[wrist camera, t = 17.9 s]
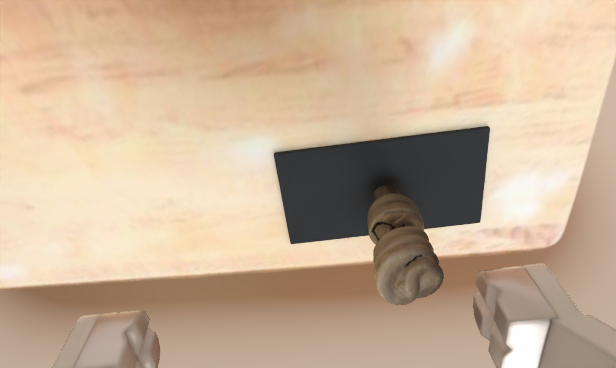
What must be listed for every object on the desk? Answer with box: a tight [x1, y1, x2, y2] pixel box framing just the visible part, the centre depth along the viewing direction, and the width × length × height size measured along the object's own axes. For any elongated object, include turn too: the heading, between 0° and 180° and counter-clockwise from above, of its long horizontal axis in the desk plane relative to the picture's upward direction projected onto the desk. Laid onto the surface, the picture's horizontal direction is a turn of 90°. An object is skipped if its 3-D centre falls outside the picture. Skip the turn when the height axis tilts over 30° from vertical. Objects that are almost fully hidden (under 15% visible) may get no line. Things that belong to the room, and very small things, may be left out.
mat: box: [274, 126, 490, 244], centre depth 48 cm, size 22×12×1 cm, turn 97°
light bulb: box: [367, 185, 444, 305], centre depth 42 cm, size 6×6×15 cm
